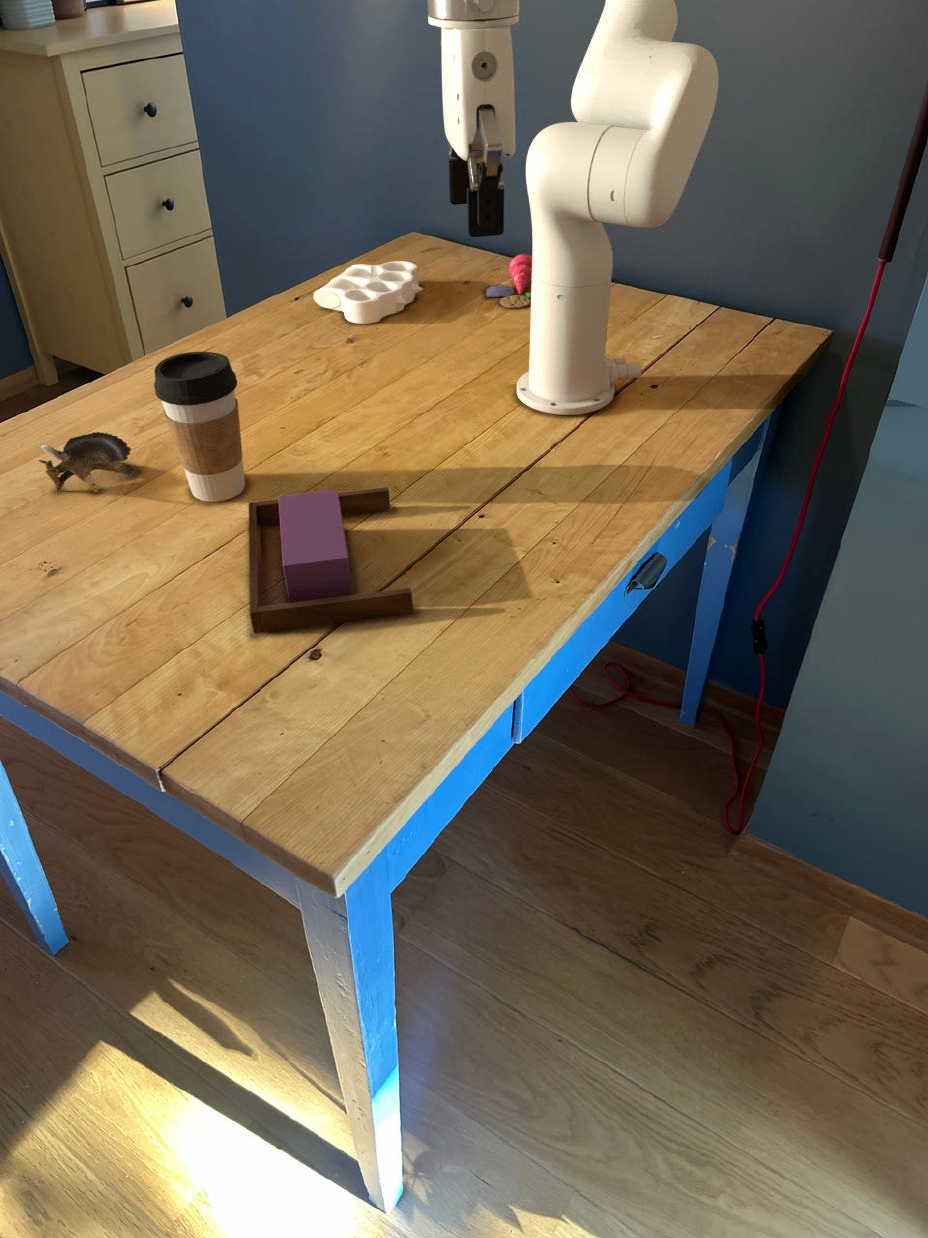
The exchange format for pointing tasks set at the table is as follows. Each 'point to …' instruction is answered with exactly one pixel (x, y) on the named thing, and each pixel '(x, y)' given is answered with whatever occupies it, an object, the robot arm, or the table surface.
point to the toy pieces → (521, 277)
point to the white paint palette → (370, 291)
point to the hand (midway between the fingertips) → (475, 218)
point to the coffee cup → (203, 421)
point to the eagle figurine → (88, 458)
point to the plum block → (314, 546)
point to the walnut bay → (327, 607)
